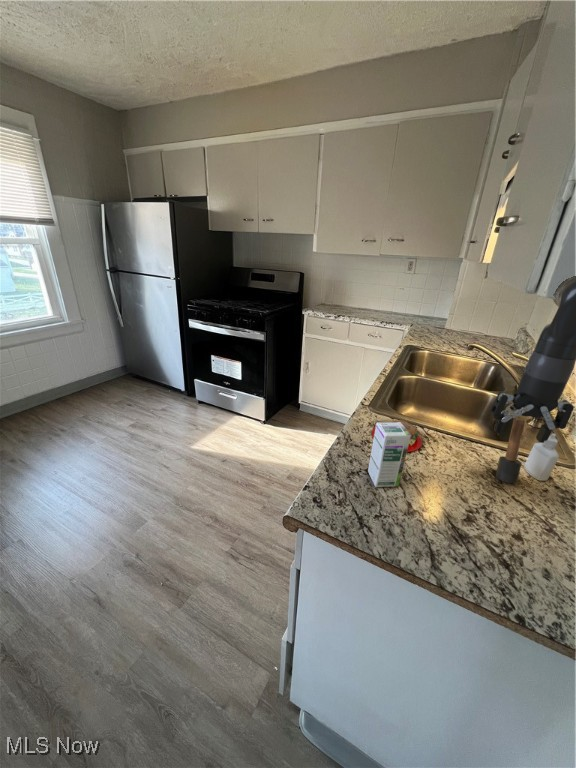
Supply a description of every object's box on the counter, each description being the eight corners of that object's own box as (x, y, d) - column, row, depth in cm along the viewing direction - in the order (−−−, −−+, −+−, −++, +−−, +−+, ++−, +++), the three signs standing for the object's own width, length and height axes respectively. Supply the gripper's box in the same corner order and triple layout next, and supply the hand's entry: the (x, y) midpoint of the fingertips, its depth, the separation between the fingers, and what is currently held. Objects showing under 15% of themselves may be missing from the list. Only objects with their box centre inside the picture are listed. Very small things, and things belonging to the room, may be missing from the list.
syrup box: (375, 488, 72) (386, 436, 66) (367, 470, 78) (376, 421, 71) (398, 487, 73) (412, 435, 67) (389, 469, 78) (400, 420, 72)
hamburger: (378, 419, 100) (382, 403, 97) (425, 433, 93) (430, 416, 91) (365, 441, 88) (368, 424, 86) (417, 459, 82) (422, 440, 80)
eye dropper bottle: (526, 477, 78) (545, 437, 72) (522, 464, 82) (540, 426, 77) (547, 483, 76) (569, 443, 71) (542, 470, 81) (562, 431, 75)
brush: (512, 477, 77) (525, 419, 75) (520, 485, 73) (535, 423, 71) (492, 474, 78) (505, 416, 76) (499, 481, 74) (513, 419, 72)
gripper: (514, 375, 64) (489, 440, 71) (596, 386, 61) (562, 452, 68) (502, 363, 71) (480, 423, 78) (575, 371, 68) (546, 434, 75)
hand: (518, 437), depth 73 cm, fingers open, 8 cm apart
